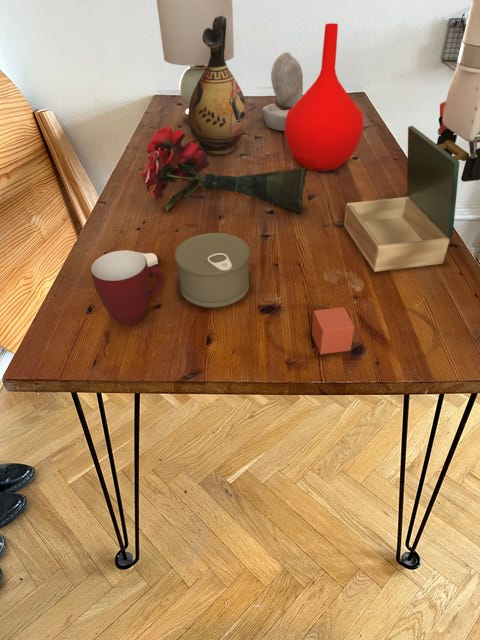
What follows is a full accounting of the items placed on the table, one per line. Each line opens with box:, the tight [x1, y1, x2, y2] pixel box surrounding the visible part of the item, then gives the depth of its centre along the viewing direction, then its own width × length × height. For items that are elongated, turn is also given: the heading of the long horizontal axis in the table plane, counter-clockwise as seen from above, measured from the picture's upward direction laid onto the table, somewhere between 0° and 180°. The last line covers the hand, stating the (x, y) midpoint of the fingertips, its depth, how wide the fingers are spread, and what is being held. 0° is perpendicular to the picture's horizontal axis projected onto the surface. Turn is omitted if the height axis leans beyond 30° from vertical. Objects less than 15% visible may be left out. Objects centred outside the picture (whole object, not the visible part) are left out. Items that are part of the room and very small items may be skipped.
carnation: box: [140, 126, 308, 214], centre depth 102 cm, size 16×18×35 cm
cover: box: [406, 125, 470, 239], centre depth 83 cm, size 14×17×5 cm
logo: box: [137, 251, 159, 267], centre depth 86 cm, size 6×1×8 cm
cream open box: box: [343, 196, 451, 272], centre depth 88 cm, size 13×17×5 cm
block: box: [311, 306, 355, 355], centre depth 68 cm, size 4×4×4 cm
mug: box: [90, 249, 165, 327], centre depth 73 cm, size 11×8×10 cm
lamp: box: [156, 0, 235, 123], centre depth 136 cm, size 20×20×35 cm
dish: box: [262, 103, 291, 132], centre depth 139 cm, size 14×14×5 cm
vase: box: [284, 22, 364, 172], centre depth 110 cm, size 18×18×30 cm
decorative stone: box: [270, 52, 304, 109], centre depth 152 cm, size 15×10×15 cm
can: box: [174, 232, 251, 308], centre depth 79 cm, size 12×12×7 cm
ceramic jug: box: [187, 16, 249, 156], centre depth 120 cm, size 17×15×30 cm
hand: (455, 168), depth 82 cm, fingers open, 9 cm apart
